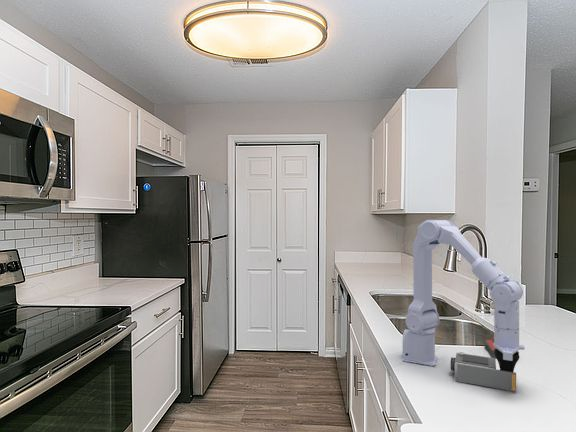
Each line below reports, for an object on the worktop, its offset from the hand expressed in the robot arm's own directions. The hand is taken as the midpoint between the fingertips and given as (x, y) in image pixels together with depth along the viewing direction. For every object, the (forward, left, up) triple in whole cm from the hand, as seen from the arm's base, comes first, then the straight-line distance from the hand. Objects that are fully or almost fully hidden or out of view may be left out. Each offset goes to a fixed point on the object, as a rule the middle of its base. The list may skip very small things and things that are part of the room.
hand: (506, 379), depth 102 cm
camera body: (-7, +3, -2) cm, 8 cm away
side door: (-5, -2, -2) cm, 6 cm away
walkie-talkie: (-1, +32, -3) cm, 32 cm away
